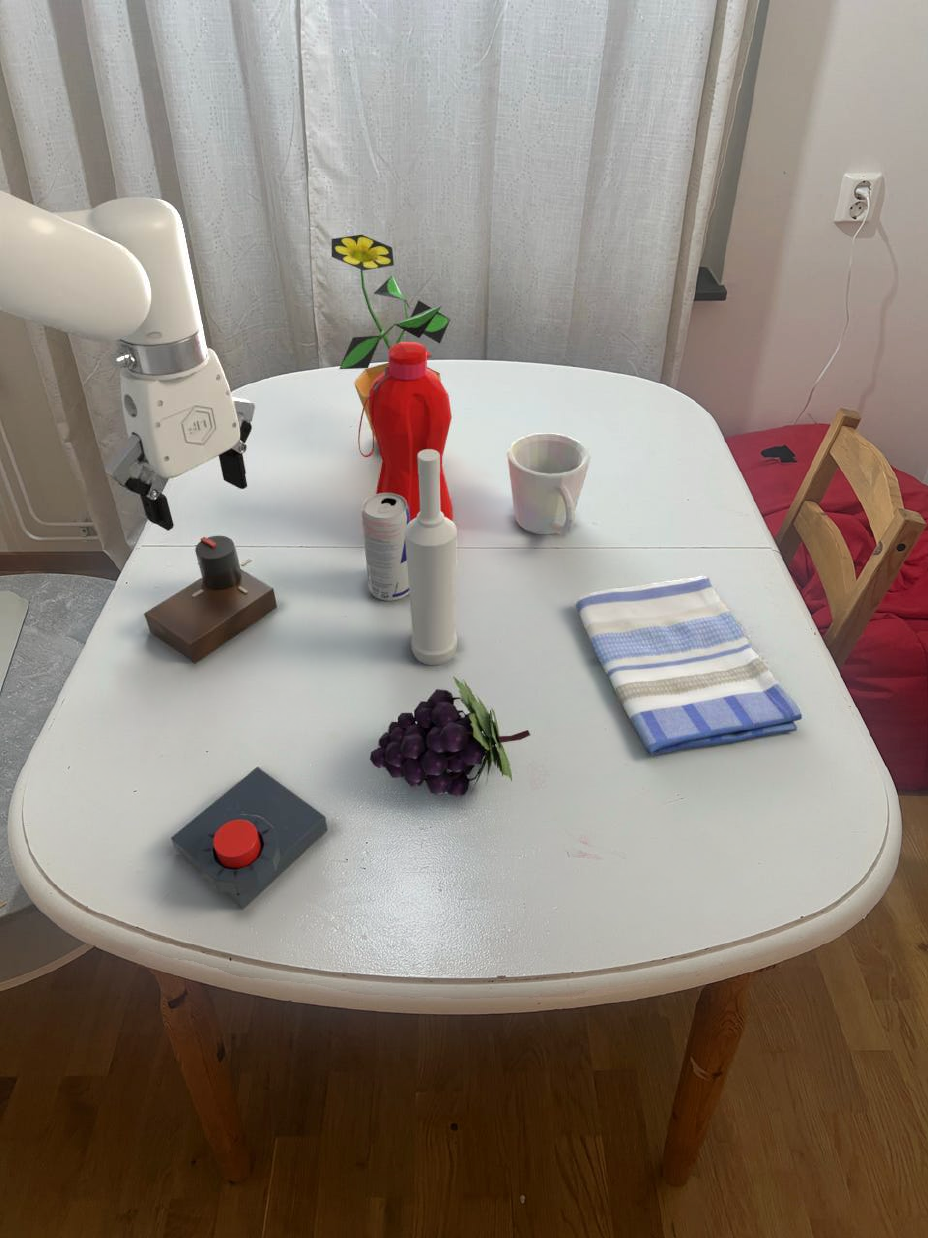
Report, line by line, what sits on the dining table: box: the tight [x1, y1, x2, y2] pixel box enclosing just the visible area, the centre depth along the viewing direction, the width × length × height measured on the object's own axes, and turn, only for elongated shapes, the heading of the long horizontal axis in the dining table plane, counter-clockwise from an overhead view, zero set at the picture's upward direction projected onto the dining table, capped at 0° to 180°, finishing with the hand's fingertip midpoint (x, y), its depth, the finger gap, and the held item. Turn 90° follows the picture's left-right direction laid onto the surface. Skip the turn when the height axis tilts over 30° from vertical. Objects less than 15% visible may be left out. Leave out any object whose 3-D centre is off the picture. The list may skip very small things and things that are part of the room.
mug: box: [506, 432, 591, 536], centre depth 109 cm, size 10×15×10 cm
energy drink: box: [361, 493, 410, 602], centre depth 99 cm, size 5×5×12 cm
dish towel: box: [575, 574, 803, 755], centre depth 92 cm, size 17×24×3 cm
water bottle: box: [357, 341, 454, 522], centre depth 103 cm, size 9×11×25 cm
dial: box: [194, 535, 242, 590], centre depth 98 cm, size 4×4×5 cm
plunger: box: [213, 820, 261, 868], centre depth 71 cm, size 4×4×2 cm
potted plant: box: [331, 234, 451, 446], centre depth 117 cm, size 18×19×30 cm
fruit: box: [369, 675, 531, 798], centre depth 79 cm, size 10×11×15 cm
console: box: [143, 558, 278, 665], centre depth 98 cm, size 14×10×3 cm
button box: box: [170, 766, 328, 910], centre depth 75 cm, size 11×10×4 cm
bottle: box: [405, 449, 458, 666], centre depth 86 cm, size 5×5×25 cm
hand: (200, 503), depth 90 cm, fingers open, 9 cm apart
